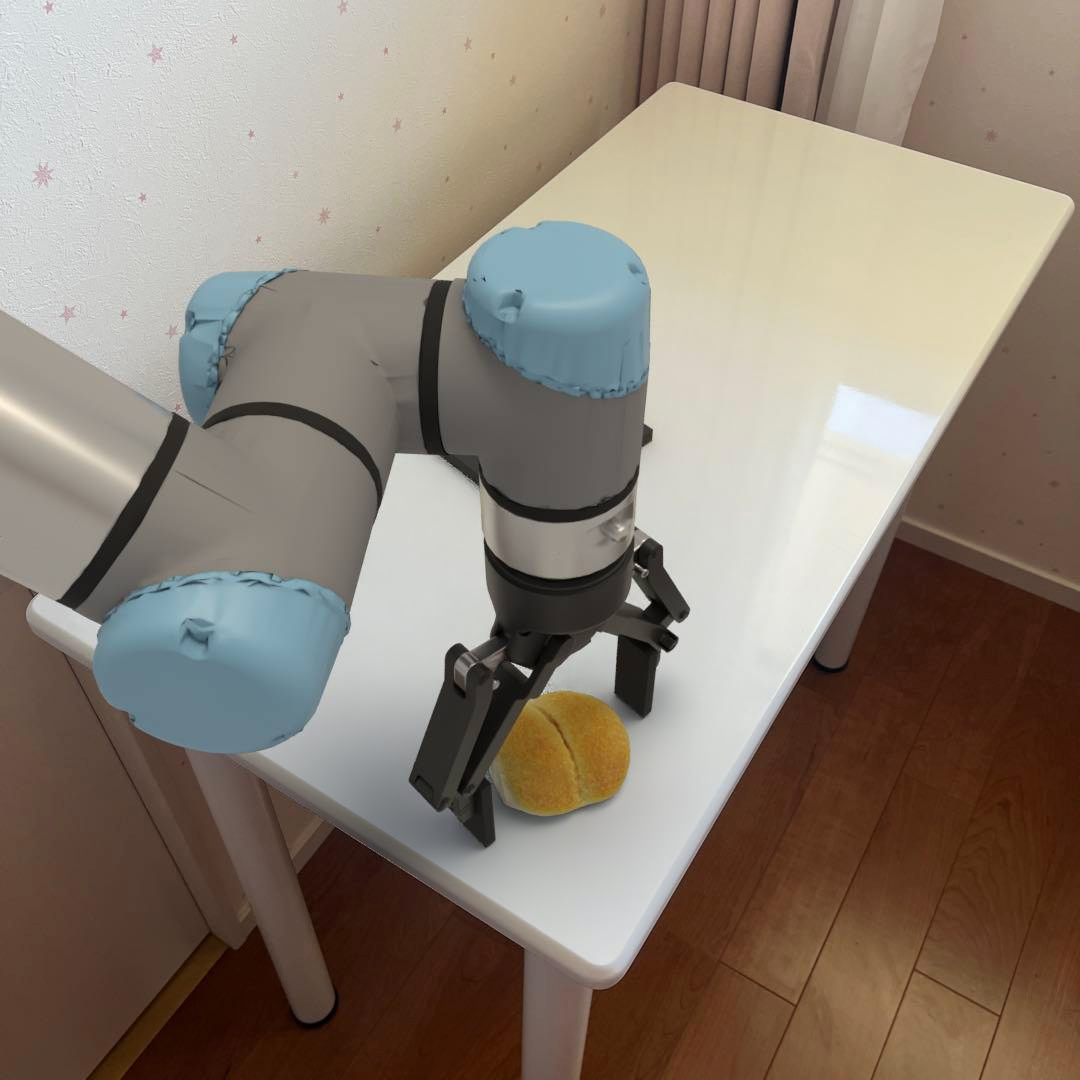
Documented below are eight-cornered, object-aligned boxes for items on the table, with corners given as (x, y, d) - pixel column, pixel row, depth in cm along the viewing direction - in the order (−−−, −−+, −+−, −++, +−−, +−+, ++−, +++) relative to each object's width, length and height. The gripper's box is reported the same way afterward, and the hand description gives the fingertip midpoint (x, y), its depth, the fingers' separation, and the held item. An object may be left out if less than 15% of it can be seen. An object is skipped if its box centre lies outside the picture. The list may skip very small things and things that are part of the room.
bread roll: (649, 790, 69) (654, 755, 66) (515, 839, 66) (513, 805, 64) (596, 689, 74) (598, 652, 71) (470, 731, 72) (467, 695, 69)
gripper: (406, 722, 47) (442, 935, 62) (779, 451, 58) (732, 688, 74) (305, 621, 51) (363, 846, 66) (674, 386, 62) (650, 624, 78)
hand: (557, 763), depth 70 cm, fingers open, 13 cm apart
